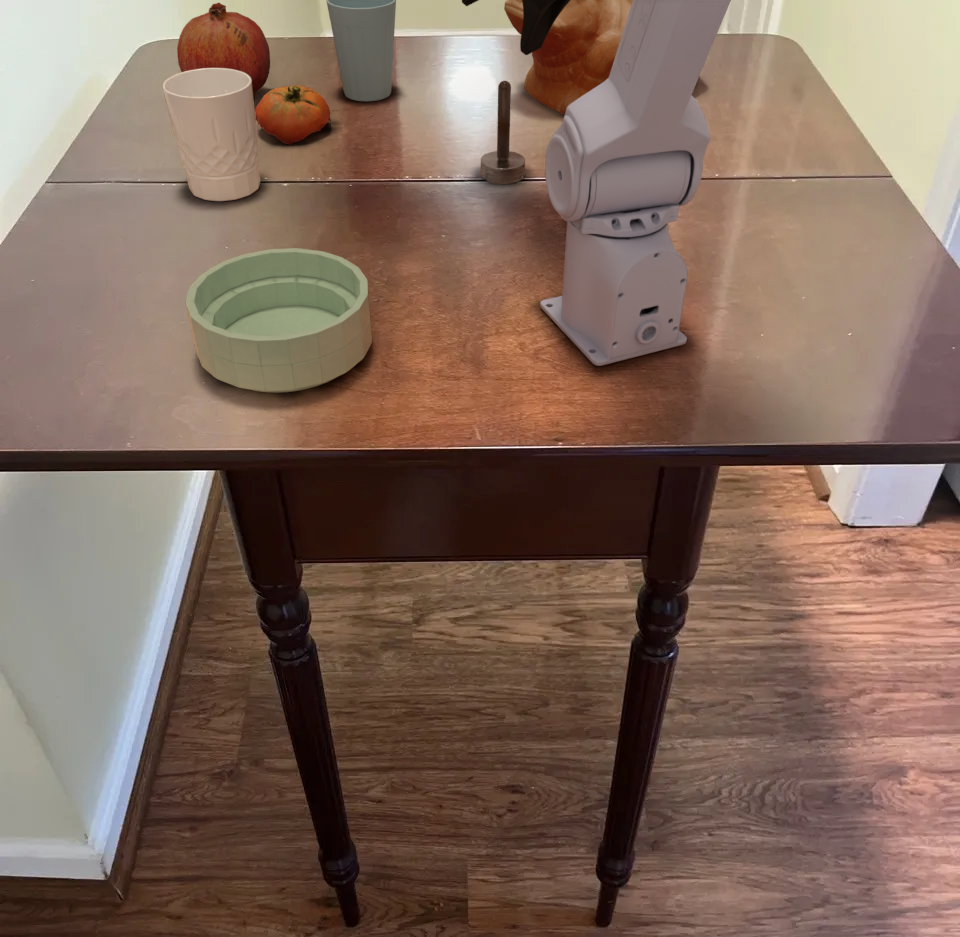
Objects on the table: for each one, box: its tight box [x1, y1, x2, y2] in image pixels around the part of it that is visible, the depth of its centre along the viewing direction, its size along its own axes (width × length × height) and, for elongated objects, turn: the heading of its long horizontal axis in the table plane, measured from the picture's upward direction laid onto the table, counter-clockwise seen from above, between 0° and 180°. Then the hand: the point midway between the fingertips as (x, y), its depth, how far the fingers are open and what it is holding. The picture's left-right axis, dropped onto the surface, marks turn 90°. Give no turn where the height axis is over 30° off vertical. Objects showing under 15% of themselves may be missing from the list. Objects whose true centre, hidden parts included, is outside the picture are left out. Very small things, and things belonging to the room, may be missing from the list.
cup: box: [326, 0, 397, 102], centre depth 109 cm, size 8×8×10 cm
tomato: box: [254, 84, 332, 146], centre depth 103 cm, size 8×7×7 cm
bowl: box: [184, 247, 373, 394], centre depth 70 cm, size 13×13×5 cm
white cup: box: [161, 68, 261, 202], centre depth 90 cm, size 8×8×10 cm
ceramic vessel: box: [503, 0, 633, 115], centre depth 109 cm, size 14×26×15 cm, turn 117°
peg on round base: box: [480, 80, 526, 185], centre depth 93 cm, size 4×4×9 cm
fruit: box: [176, 2, 271, 95], centre depth 108 cm, size 11×10×10 cm
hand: (501, 24), depth 85 cm, fingers open, 7 cm apart
